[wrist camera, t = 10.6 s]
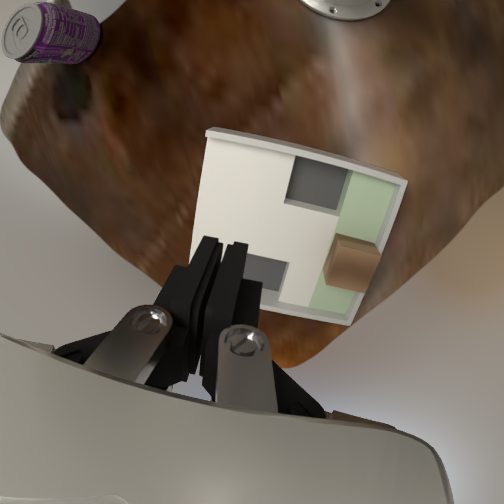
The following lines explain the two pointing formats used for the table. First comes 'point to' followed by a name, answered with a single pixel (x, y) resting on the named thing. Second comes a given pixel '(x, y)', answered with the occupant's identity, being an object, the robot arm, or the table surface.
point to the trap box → (292, 216)
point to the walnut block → (351, 263)
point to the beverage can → (50, 34)
